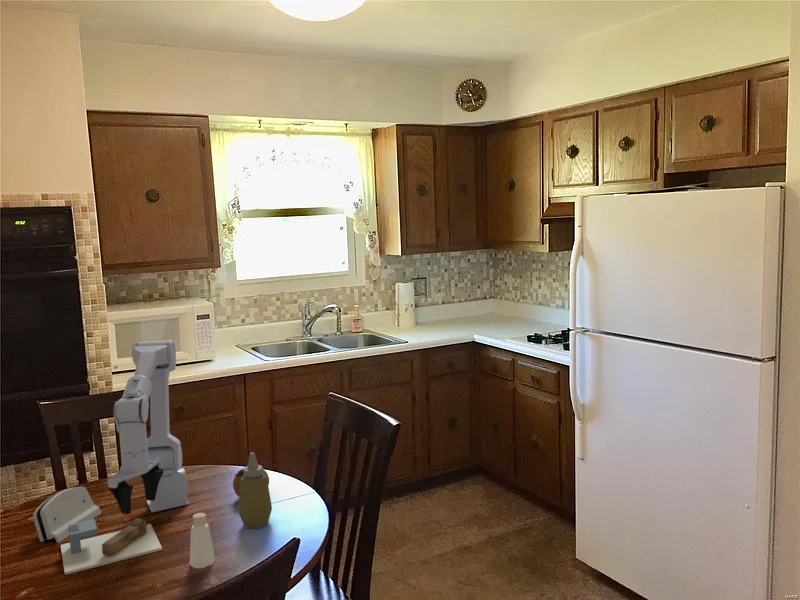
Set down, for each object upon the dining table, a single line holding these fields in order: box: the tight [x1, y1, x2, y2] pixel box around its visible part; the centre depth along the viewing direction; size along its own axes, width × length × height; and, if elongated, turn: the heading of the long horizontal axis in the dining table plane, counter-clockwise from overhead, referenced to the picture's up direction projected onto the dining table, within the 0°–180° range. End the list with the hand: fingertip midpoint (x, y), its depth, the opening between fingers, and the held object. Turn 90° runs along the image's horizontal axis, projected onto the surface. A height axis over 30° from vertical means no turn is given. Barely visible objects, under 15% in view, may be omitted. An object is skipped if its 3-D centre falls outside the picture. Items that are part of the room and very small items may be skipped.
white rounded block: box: [32, 486, 103, 544], centre depth 167 cm, size 17×5×10 cm, turn 168°
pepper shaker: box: [189, 512, 216, 569], centre depth 147 cm, size 5×5×11 cm
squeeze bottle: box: [238, 452, 273, 529], centre depth 164 cm, size 8×8×18 cm
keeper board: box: [60, 518, 163, 576], centre depth 155 cm, size 20×14×6 cm
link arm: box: [102, 518, 147, 556], centre depth 156 cm, size 13×4×3 cm, turn 165°
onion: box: [232, 467, 270, 498], centre depth 181 cm, size 10×9×10 cm
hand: (138, 506), depth 155 cm, fingers open, 7 cm apart
